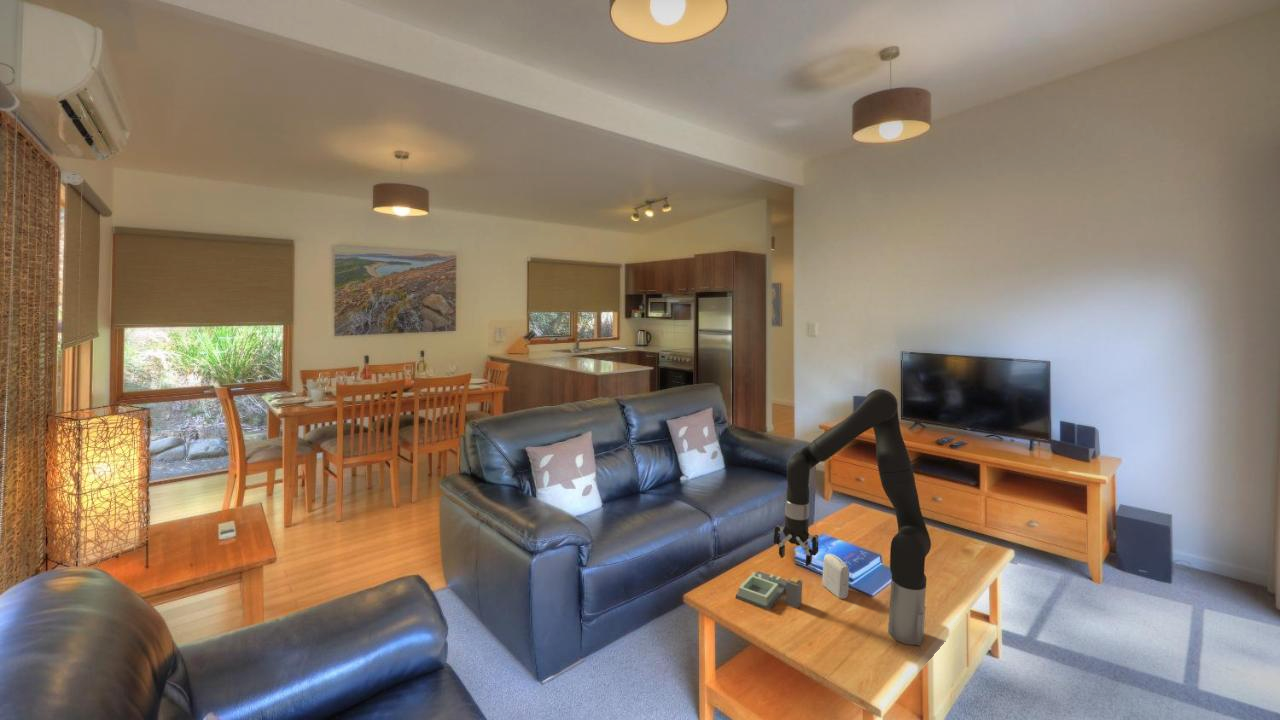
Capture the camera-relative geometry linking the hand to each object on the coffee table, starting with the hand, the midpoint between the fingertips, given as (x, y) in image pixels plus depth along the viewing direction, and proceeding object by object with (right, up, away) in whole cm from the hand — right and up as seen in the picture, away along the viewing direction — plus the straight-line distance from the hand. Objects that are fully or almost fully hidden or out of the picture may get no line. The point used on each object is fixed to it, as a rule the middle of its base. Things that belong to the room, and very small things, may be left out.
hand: (794, 560), depth 170 cm
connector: (0, -15, +2) cm, 15 cm away
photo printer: (+17, -14, +9) cm, 24 cm away
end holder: (-11, -13, +5) cm, 18 cm away
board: (-8, -14, +9) cm, 19 cm away
